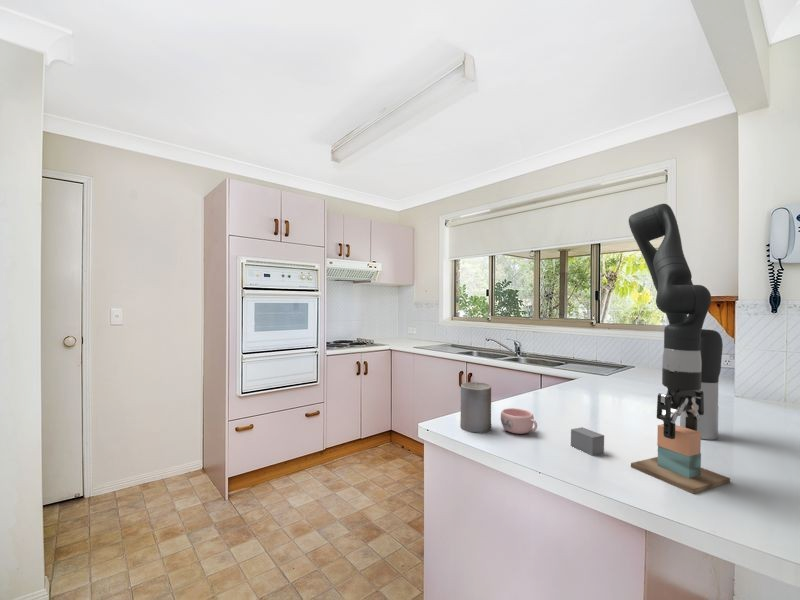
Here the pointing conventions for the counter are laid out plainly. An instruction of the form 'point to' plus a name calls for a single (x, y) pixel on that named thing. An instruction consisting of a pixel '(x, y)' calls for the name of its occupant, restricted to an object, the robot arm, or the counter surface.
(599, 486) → the counter surface
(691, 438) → the terracotta brick
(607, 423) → the counter surface
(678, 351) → the robot arm
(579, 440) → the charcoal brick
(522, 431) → the mug
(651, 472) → the plate
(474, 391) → the pillar candle
